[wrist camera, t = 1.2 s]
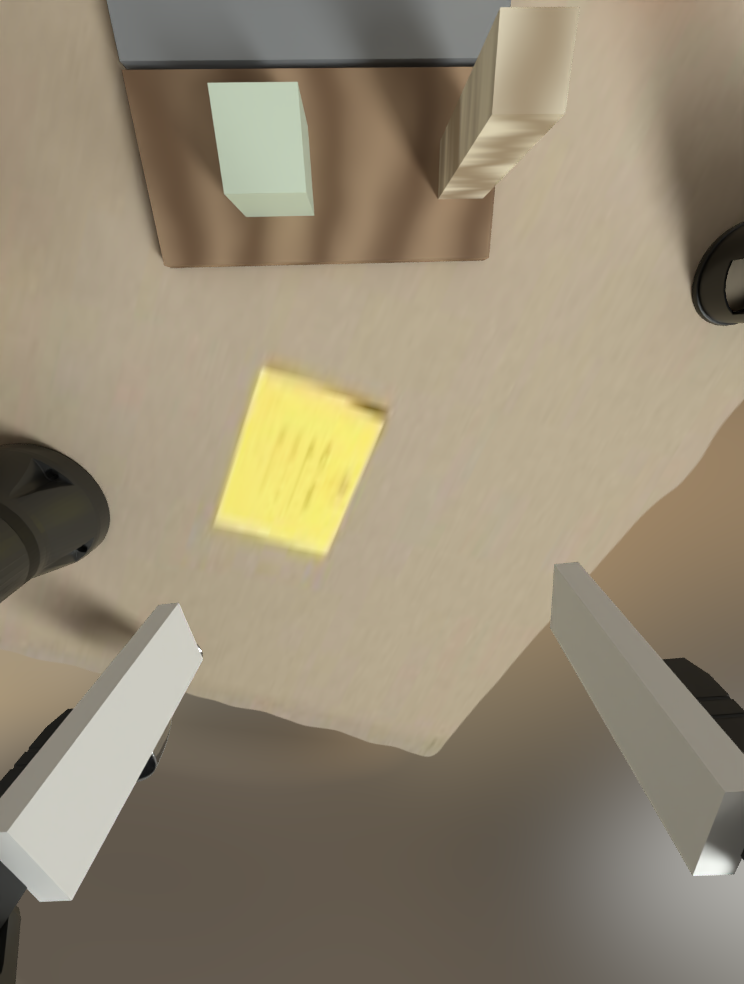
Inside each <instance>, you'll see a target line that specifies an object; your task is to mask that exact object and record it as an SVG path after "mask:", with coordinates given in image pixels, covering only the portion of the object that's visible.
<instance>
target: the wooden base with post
mask: <svg viewBox="0 0 744 984" xmlns="http://www.w3.org/2000/svg"><path fill="white" fill-rule="evenodd" d="M579 10H580V7H500V9H499V11H498V14H497V16H496V18H495V20H494V22H493V25H492V27H491V29H490V31H489V34H488V36H487V38H486V40H485V42H484V45H483V47H482V49H481V51H480V54H479V56H478V58H477V60H476V62H475V65H474V67H388V68H276V69H164V70H122V74H123V78H124V83H125V88H126V92H127V97H128V101H129V106H130V111H131V115H132V120H133V124H134V129H135V134H136V138H137V143H138V147H139V152H140V157H141V161H142V166H143V170H144V175H145V180H146V184H147V189H148V193H149V198H150V203H151V207H152V212H153V216H154V221H155V226H156V230H157V235H158V239H159V244H160V249H161V253H162V258H163V262H164V265H165V266H168V267H171V268H186V267H227V266H269V265H310V264H352V263H394V262H435V261H477V260H485V259H487V258H489V251H490V239H491V228H492V216H493V204H494V193H495V185H496V184H497V183H498V182H499V181H500V180H501V179H502V178H503V177H504V176H505V175H506V174H507V173H508V172H509V171H510V170H511V169H512V168H513V167H514V166H515V165H516V164H517V163H518V162H519V161H520V160H521V159H522V158H523V157H524V156H525V155H526V154H527V152H528V151H529V150H530V149H531V148H532V147H533V146H534V145H535V144H536V143H537V142H538V141H539V140H540V139H541V138H542V137H543V136H544V135H545V134H546V133H547V132H548V131H549V130H550V129H551V128H552V127H553V126H554V125H555V124H556V123H557V122H558V121H559V119H560V118H561V117H562V116H563V115H564V114H565V111H566V104H567V97H568V89H569V82H570V75H571V68H572V60H573V53H574V46H575V39H576V31H577V24H578V17H579ZM229 82H298V86H299V91H300V95H301V99H302V104H303V108H304V112H305V117H306V121H307V125H308V136H309V150H310V163H311V177H312V190H313V204H314V216H271V217H246V216H245V215H244V214H243V213H242V212H241V211H240V210H239V209H238V208H237V207H236V206H235V205H234V204H233V203H232V202H231V201H230V200H229V199H228V197H227V196H226V195H225V194H224V190H223V183H222V176H221V170H220V163H219V157H218V150H217V143H216V137H215V130H214V124H213V117H212V110H211V104H210V97H209V91H208V84H207V83H229Z"/></svg>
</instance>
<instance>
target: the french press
mask: <svg viewBox="0 0 744 984" xmlns="http://www.w3.org/2000/svg"><path fill="white" fill-rule="evenodd" d="M743 258H744V222H742V223H740V224H738V225H736V226H734V227H732V228H731V229H729V230H728V231H726V232H725V233H724V234H723V235H721V236H720V237H719V238H718V239H717V240H716V241H715V242H714V243H713V244H712V245H711V247H710V248H709V249H708V251H707V252H706V253H705V255H704V256H703V258H702V260H701V262H700V264H699V266H698V269H697V271H696V274H695V277H694V282H693V294H692V296H693V302H694V306H695V308H696V310H697V312H698V313H699V315H700V316H701V317H702V318H703V319H704V320H706V321H707V322H709V323H712V324H715V325H722V326H727V325H734V324H738V323H744V309H742V310H739V311H736V312H733V311H732V310H731V308H730V307H729V305H728V302H727V299H726V292H725V288H726V279H727V275H728V271H729V268H730V266H731V263H732V261H733V260H738V259H743Z"/></svg>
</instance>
